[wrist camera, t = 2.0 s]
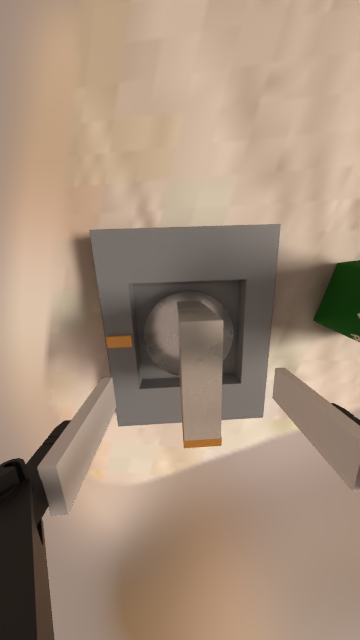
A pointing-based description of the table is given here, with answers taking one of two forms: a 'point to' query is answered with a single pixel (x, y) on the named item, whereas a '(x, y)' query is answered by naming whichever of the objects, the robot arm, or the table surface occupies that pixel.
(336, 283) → the milk carton
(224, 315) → the dial
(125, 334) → the panel
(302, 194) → the table surface
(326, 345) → the table surface
